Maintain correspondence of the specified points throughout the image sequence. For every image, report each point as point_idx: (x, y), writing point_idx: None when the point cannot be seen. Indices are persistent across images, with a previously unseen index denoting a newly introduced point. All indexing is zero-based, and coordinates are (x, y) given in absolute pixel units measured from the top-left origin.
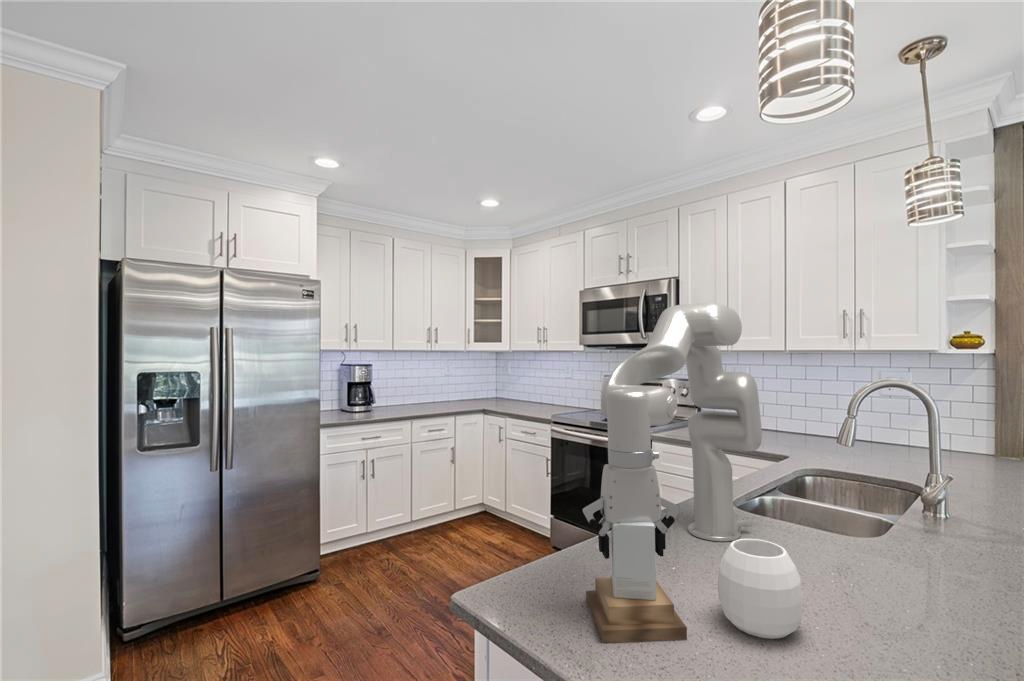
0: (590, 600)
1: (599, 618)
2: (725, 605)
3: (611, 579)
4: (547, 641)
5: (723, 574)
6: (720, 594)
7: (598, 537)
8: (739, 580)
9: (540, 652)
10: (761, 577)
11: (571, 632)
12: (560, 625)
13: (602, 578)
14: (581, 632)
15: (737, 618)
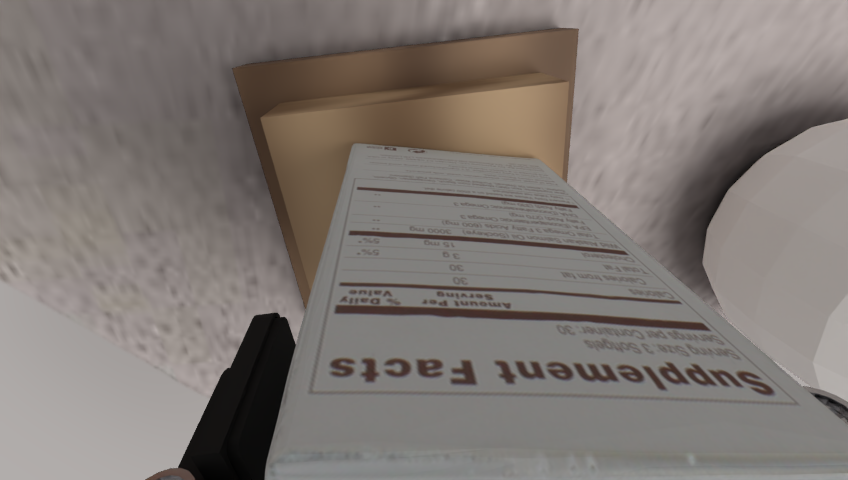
0: (262, 161)
1: (303, 280)
2: (725, 275)
3: (347, 134)
4: (162, 316)
5: (825, 330)
6: (748, 265)
7: (192, 439)
8: (832, 389)
9: (158, 356)
10: None
11: (223, 273)
12: (179, 240)
13: (300, 123)
14: (254, 271)
15: (716, 295)
